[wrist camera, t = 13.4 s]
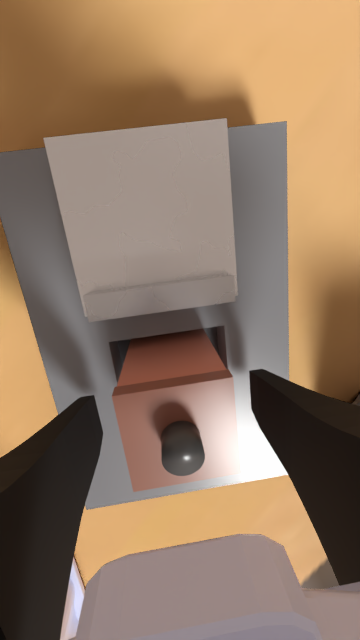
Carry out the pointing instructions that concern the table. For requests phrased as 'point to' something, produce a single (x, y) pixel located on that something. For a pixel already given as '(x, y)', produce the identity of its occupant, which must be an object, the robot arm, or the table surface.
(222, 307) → the socket plate
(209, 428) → the plug
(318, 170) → the table surface
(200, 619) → the robot arm
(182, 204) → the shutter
